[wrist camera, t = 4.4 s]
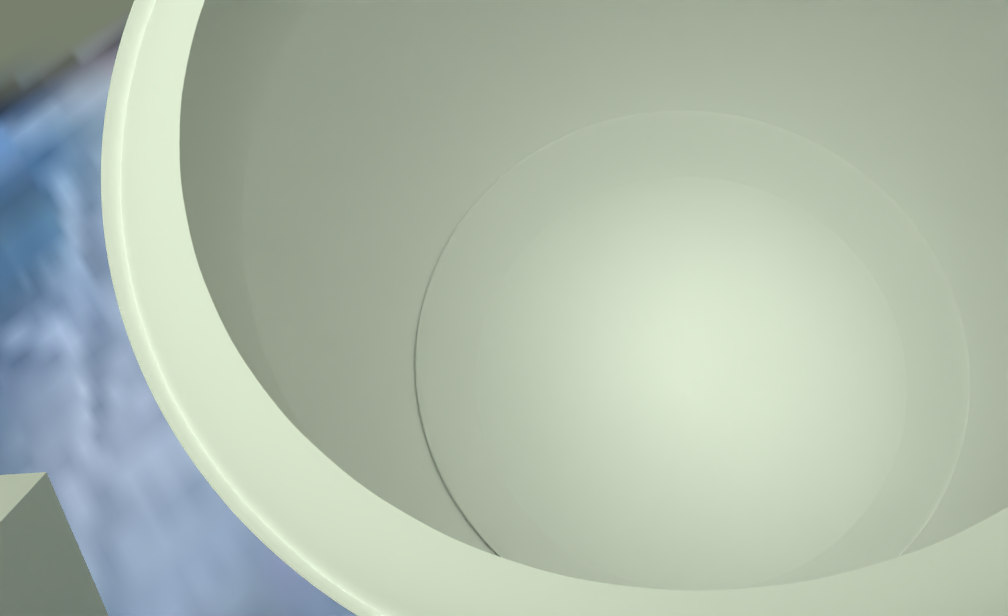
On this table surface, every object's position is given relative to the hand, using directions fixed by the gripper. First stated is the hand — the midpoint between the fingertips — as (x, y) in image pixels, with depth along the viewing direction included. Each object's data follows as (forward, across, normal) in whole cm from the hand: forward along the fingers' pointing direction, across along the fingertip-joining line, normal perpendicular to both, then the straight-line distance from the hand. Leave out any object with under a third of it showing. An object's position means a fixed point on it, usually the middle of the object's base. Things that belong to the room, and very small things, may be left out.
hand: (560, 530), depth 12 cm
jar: (+10, +2, -5) cm, 11 cm away
